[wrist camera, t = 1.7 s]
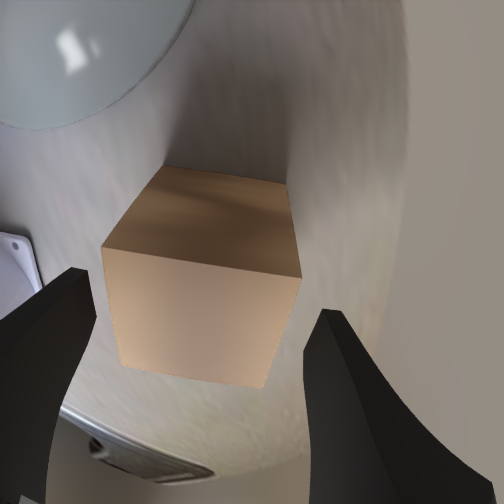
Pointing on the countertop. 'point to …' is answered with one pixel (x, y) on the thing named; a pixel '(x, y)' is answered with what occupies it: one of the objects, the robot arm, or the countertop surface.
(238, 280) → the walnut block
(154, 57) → the slate dish
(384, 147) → the countertop surface
